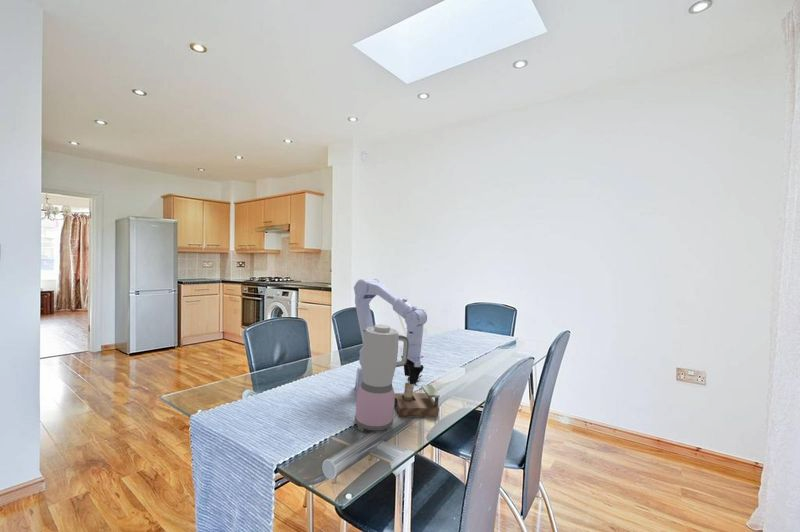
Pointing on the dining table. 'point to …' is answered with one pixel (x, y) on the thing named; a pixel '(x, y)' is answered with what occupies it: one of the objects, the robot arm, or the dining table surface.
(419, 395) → the socket deck
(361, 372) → the robot arm
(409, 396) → the peg
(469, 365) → the dining table surface
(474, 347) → the dining table surface
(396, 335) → the blender
